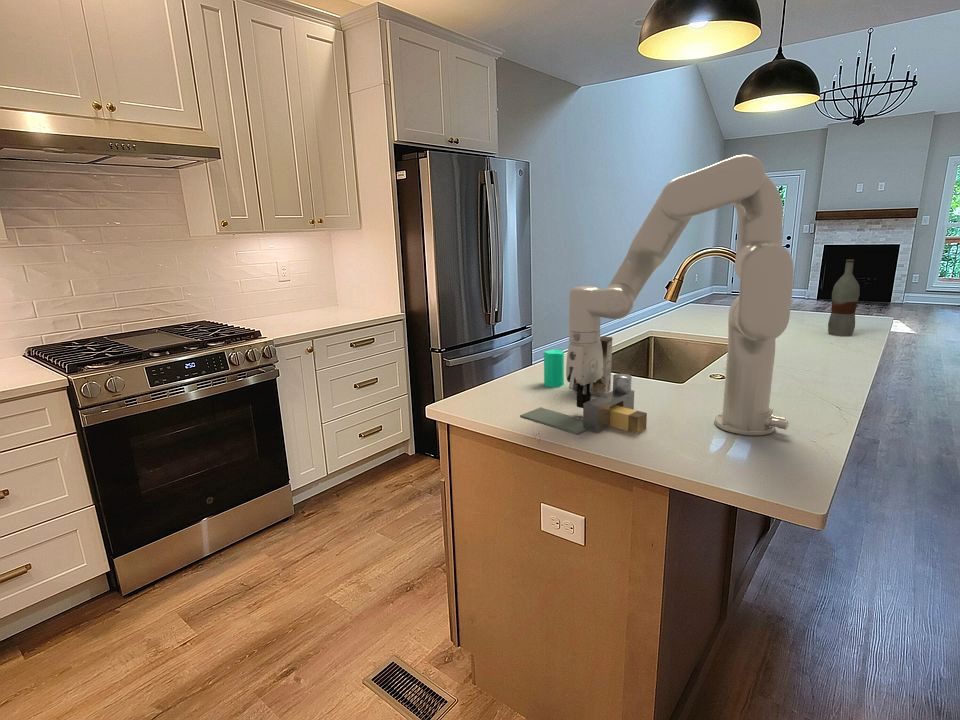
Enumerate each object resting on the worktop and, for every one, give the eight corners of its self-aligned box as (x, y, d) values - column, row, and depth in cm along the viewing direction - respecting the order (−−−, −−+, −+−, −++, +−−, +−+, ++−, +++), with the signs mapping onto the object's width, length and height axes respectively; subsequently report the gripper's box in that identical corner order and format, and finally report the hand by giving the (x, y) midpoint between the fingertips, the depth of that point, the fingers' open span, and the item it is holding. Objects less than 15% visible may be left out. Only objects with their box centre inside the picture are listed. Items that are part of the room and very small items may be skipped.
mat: (597, 424, 126) (597, 423, 126) (577, 434, 120) (577, 432, 120) (540, 408, 138) (540, 407, 138) (520, 416, 133) (520, 415, 133)
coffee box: (574, 392, 151) (575, 338, 147) (581, 386, 156) (581, 334, 152) (605, 396, 146) (607, 340, 142) (611, 389, 152) (612, 336, 148)
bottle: (822, 332, 216) (831, 259, 209) (846, 332, 215) (856, 258, 207) (833, 336, 207) (843, 260, 200) (858, 336, 206) (869, 260, 198)
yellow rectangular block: (646, 428, 122) (646, 412, 121) (637, 433, 119) (637, 417, 118) (593, 414, 133) (593, 399, 132) (583, 418, 130) (583, 403, 129)
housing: (634, 415, 131) (635, 375, 128) (598, 433, 120) (598, 390, 118) (618, 411, 134) (620, 372, 132) (582, 428, 124) (582, 386, 121)
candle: (548, 388, 156) (548, 349, 153) (541, 383, 161) (540, 345, 158) (566, 386, 157) (567, 347, 154) (558, 381, 163) (558, 343, 160)
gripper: (578, 344, 120) (578, 418, 125) (614, 333, 130) (612, 403, 134) (553, 340, 125) (553, 411, 130) (589, 330, 135) (588, 397, 140)
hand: (583, 407), depth 132 cm, fingers closed
